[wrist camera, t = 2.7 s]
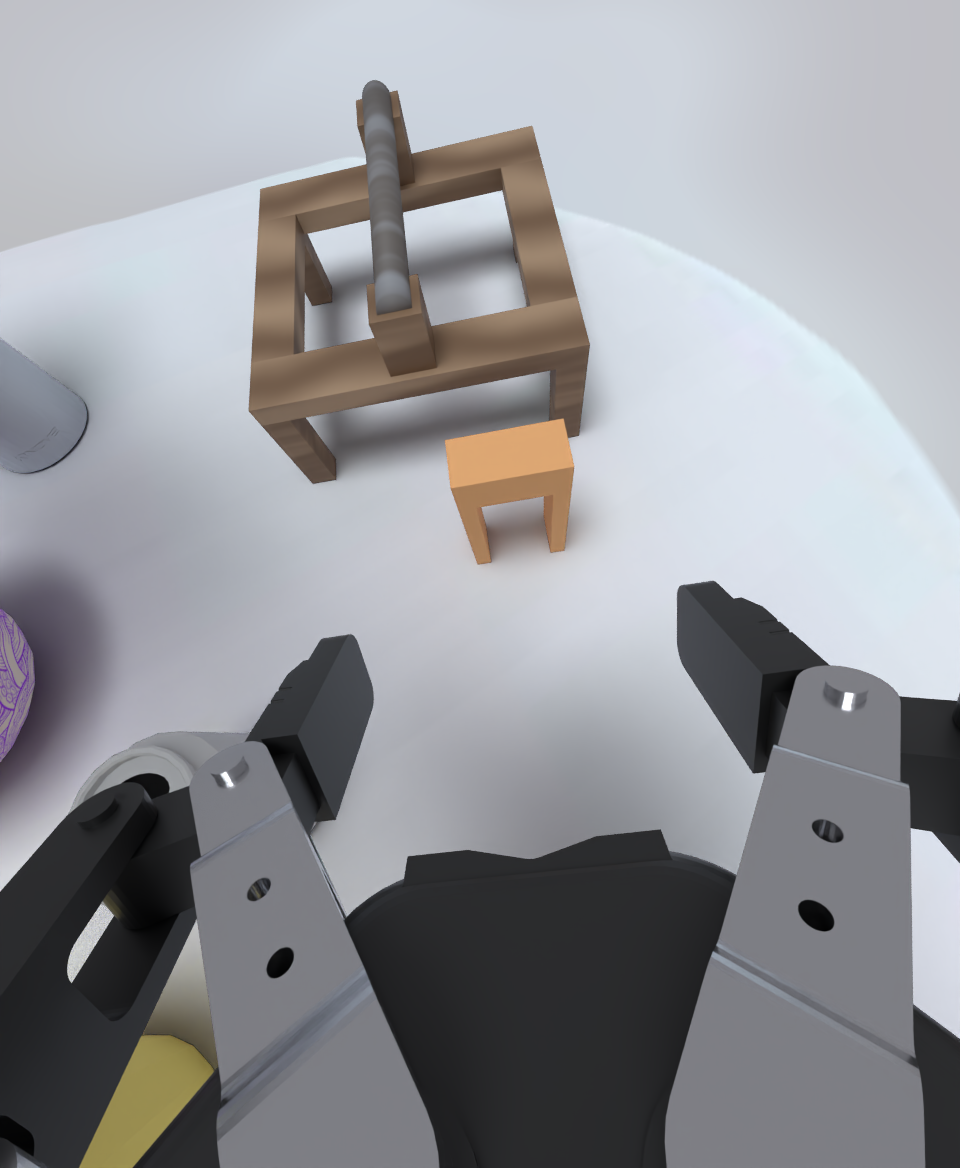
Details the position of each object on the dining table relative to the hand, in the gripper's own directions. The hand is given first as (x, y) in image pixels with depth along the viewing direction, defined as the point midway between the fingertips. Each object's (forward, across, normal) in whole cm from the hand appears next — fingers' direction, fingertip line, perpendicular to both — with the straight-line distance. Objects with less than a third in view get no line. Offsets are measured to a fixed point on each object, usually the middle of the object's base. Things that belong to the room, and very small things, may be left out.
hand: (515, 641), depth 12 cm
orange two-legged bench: (+23, -1, +6) cm, 24 cm away
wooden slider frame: (+36, +4, -8) cm, 37 cm away
